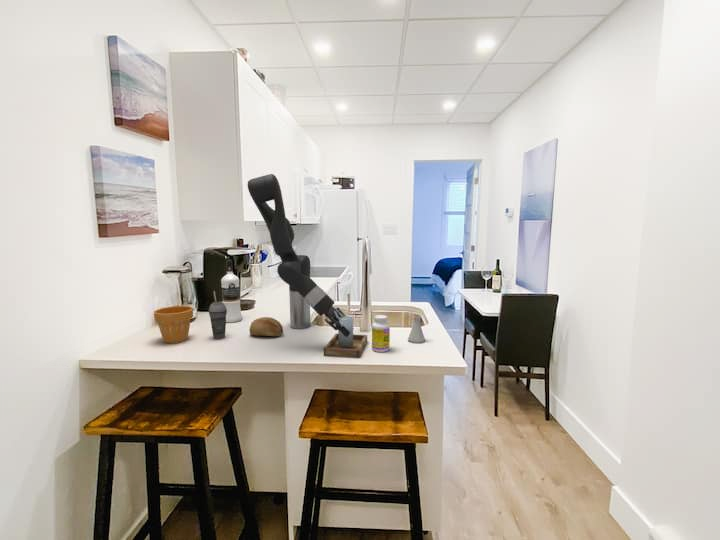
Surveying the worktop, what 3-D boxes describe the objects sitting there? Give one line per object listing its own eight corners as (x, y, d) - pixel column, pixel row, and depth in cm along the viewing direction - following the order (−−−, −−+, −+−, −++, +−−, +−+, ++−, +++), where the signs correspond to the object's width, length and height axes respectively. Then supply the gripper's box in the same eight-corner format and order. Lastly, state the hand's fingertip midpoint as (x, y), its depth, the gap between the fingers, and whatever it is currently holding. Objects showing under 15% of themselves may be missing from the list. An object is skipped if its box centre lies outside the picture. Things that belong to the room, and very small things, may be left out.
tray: (336, 340, 149) (336, 333, 149) (367, 341, 147) (367, 335, 146) (323, 355, 131) (323, 348, 131) (358, 358, 129) (358, 350, 129)
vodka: (241, 317, 186) (239, 259, 182) (242, 322, 177) (239, 261, 174) (222, 319, 183) (219, 259, 179) (222, 323, 174) (218, 261, 171)
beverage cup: (222, 340, 149) (219, 293, 146) (206, 339, 150) (203, 292, 148) (231, 335, 156) (229, 289, 154) (216, 334, 158) (213, 289, 155)
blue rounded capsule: (340, 341, 141) (340, 316, 140) (354, 341, 140) (354, 316, 139) (336, 345, 136) (336, 319, 134) (351, 346, 134) (351, 320, 133)
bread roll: (277, 340, 150) (276, 321, 149) (244, 338, 153) (243, 319, 152) (286, 333, 159) (286, 315, 158) (255, 331, 162) (254, 314, 161)
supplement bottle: (384, 353, 133) (384, 319, 131) (368, 350, 137) (368, 317, 135) (392, 348, 139) (392, 315, 137) (377, 345, 142) (377, 313, 141)
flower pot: (200, 339, 151) (198, 309, 149) (163, 348, 140) (161, 315, 139) (186, 332, 160) (184, 304, 159) (151, 340, 150) (148, 309, 148)
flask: (427, 339, 150) (428, 315, 148) (422, 344, 143) (423, 319, 142) (410, 337, 153) (410, 313, 151) (405, 342, 146) (405, 317, 145)
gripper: (320, 297, 130) (353, 332, 129) (331, 290, 144) (360, 321, 143) (306, 311, 131) (338, 345, 131) (318, 303, 145) (347, 333, 145)
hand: (350, 332), depth 137 cm, fingers closed on blue rounded capsule, 5 cm apart
